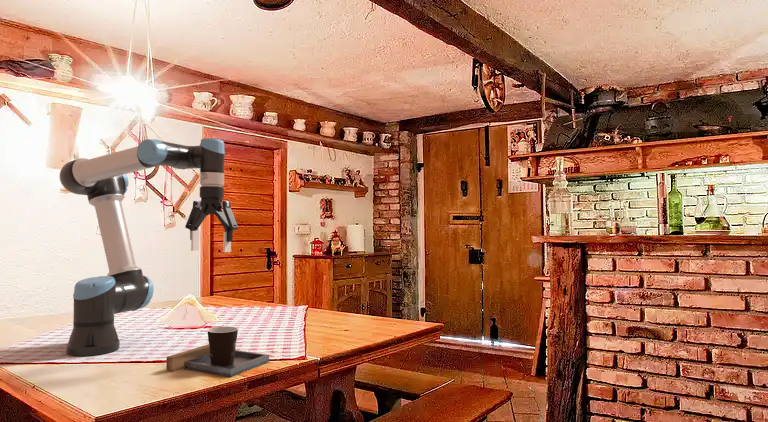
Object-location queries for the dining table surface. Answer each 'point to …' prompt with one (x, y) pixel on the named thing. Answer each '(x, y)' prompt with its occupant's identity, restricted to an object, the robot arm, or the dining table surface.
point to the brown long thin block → (184, 357)
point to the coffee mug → (222, 345)
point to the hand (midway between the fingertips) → (210, 251)
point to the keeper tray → (241, 364)
